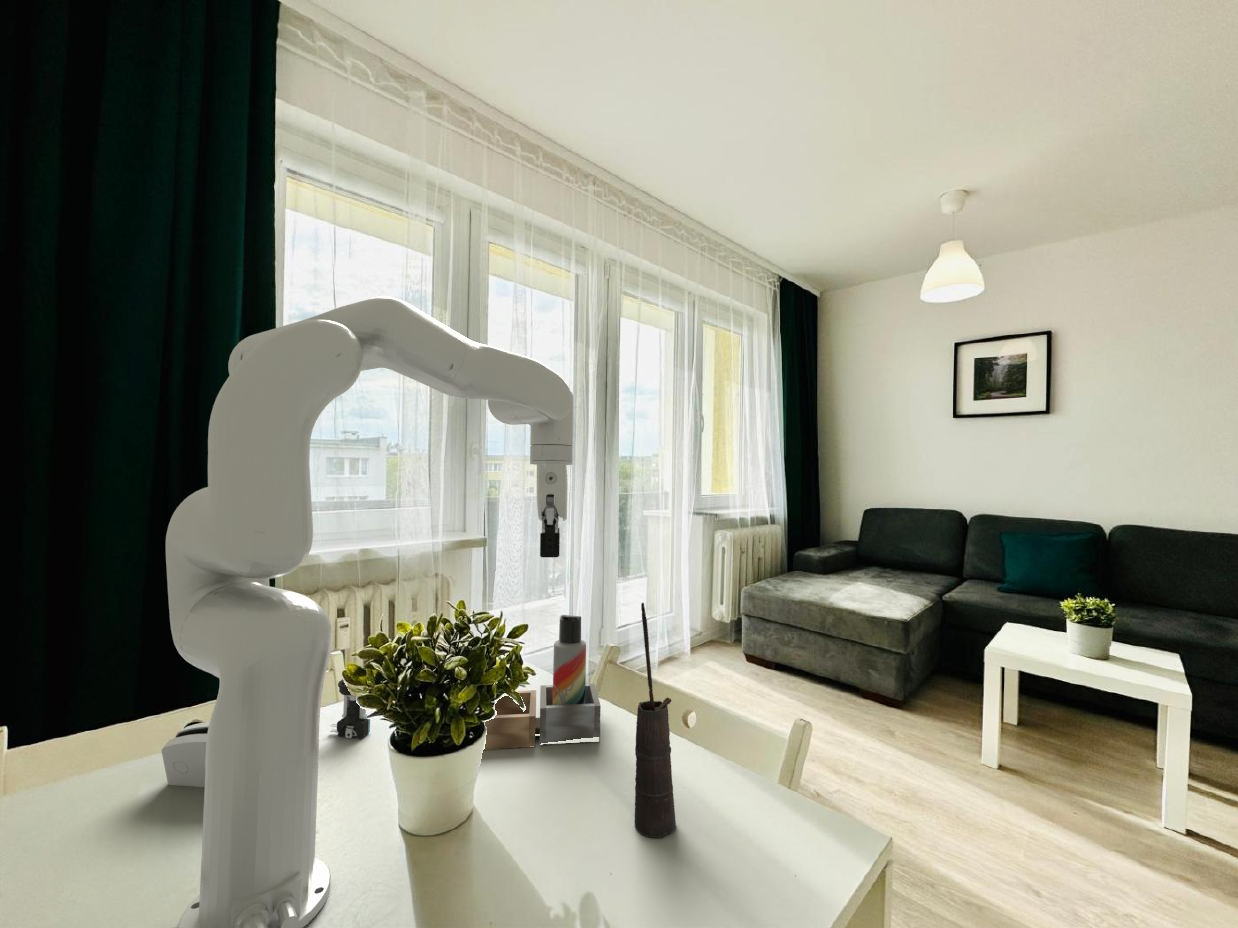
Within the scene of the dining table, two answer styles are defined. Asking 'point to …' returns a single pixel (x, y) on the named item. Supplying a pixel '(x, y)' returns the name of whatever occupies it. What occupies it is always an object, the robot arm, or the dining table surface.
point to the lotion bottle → (569, 663)
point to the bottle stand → (542, 720)
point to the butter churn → (653, 762)
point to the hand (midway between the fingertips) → (550, 553)
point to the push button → (351, 717)
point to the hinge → (186, 756)
